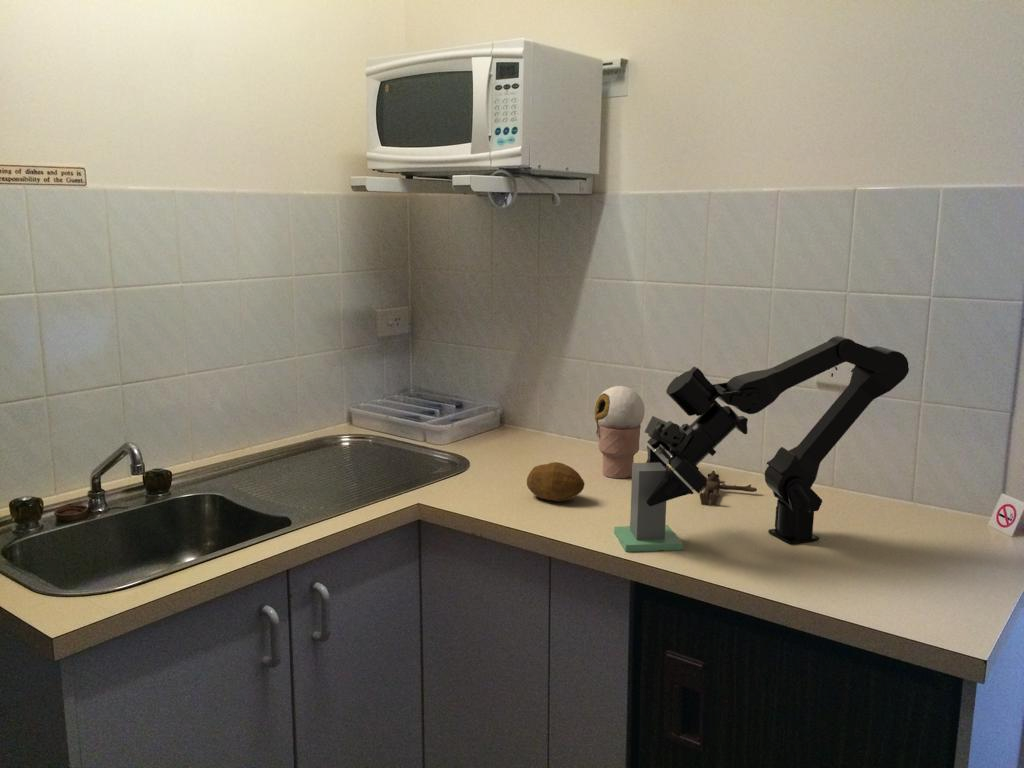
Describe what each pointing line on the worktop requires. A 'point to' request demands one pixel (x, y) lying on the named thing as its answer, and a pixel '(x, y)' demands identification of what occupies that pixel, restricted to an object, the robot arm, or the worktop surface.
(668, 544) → the header board
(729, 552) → the worktop surface
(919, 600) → the worktop surface
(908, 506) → the worktop surface
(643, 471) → the grey rectangular block
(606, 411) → the ice cream cone
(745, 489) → the brown clay figure
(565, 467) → the potato
